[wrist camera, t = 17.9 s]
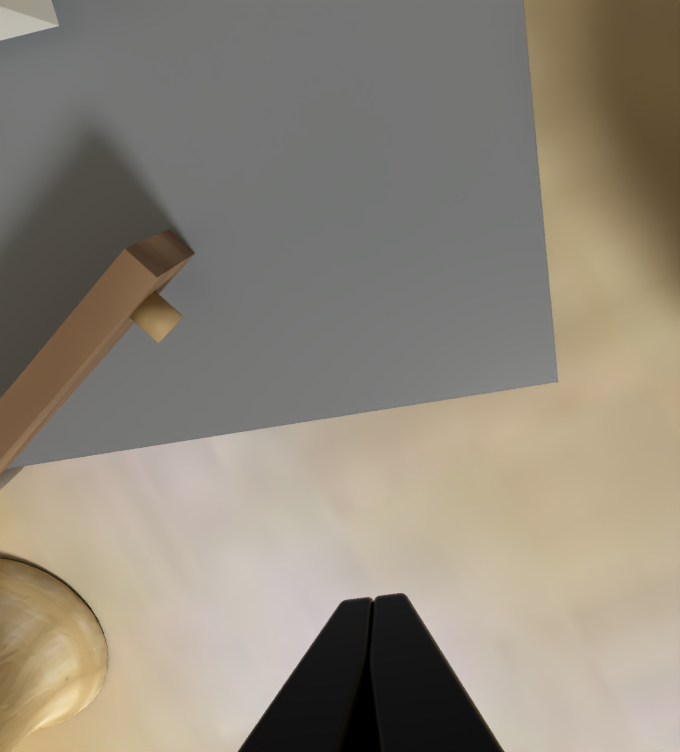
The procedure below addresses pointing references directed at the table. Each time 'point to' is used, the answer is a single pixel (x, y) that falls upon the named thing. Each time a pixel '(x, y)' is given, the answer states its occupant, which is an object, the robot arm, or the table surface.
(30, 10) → the fader
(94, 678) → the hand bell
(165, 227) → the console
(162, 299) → the door
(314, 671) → the robot arm
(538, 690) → the table surface
